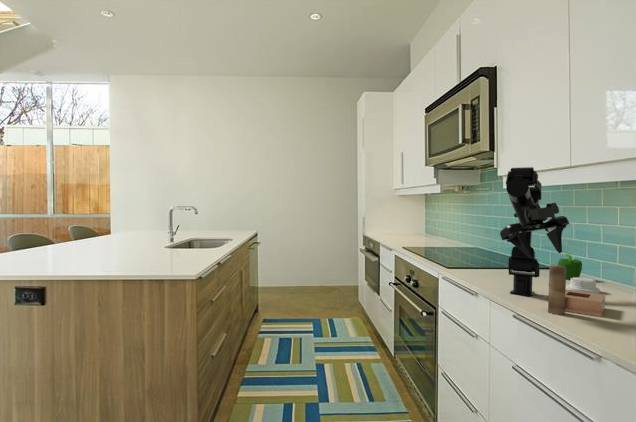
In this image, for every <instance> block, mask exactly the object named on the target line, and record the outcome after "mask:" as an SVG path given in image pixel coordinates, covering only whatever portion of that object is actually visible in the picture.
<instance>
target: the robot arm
mask: <svg viewBox="0 0 636 422" xmlns="http://www.w3.org/2000/svg"><path fill="white" fill-rule="evenodd" d="M509 170H510V171H509ZM509 170H508V171H507V176H506V181H505V185H506V186H505V187H506V192H507V194H508V199H509V200H510V203H511V205H512V207H513V209H514V212H515V213H514V214H513V217H514V218H517V219H518V222H516V223H510V224H506V226H505V227H504V228H502V229H501V230H500V231H499V232H500V233H499V236H500V238H501V241H506V242H507V243H511V244H512V245H513V247H512V249H511V252H510V253H511V255H510V256H509V257H508V275H509V276H510V275H511V276H513V285H512V287H513V289H512V290H510V291H509V294H514V295H520V296H527V297H528V296H529V297H532V296H533V295H535V294H536V291H534V290H533V278H540V269H541V268H540V263H539V261H538V258H536V253H535V250H534V248H533V247H532V239H533V232H535V231H536V232H537V231H542V230H544V231H545V232H547V233H546V237H547V238H548V239H549V241H550V243H551V244H552V245H553V247H554V249H555V250H556V252H557V253H558V254H561V253H563V243H562V242H563V241H562V239H563V237H562V236H563V231H564V229H566V228H567V226H569V225H570V221H569V219H568V218H567V216H564V215H561V216H556V214H559V213H560V210H559V209H560V208H559V206H558V204H557V202H551V203H546V205H545V207H541V205H540V201H542V196H543V191H542V190H543V189H542V187H543V186H542V182H541V181H539V174H538V172H537V170H535V168H534V167H533V166H530V167H529V166H528V167H525V166H524V167H511V168H510V169H509Z"/></svg>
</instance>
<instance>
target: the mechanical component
mask: <svg viewBox="0 0 636 422" xmlns="http://www.w3.org/2000/svg"><path fill="white" fill-rule="evenodd" d="M596 284H597V281H596V280H595V279H593V278H592V279H591V278H588V277H587V278H586V277H579V278H576V277H575V278H574V277H573V278H571V279H570V283H569V284H566V290H574V291H581V292H589V293H597V294H601V289H600V288H598V287H597V285H596Z"/></svg>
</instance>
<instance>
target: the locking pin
mask: <svg viewBox="0 0 636 422" xmlns="http://www.w3.org/2000/svg"><path fill="white" fill-rule="evenodd" d="M548 268H549V271H548V272H549V273H548V296H547V297H548V300H547V301H548V304H547V305H548V307H547V312H548V313H549V314H551V313H552V315H556V314H558V315H557V316H564V315H565V314H566V313H565V312H566V311H565V289H566V285H567V284H566V282H567V281H566V280H567V279H566V267H565V266H558V264H557V265H555V264H554V265H553V264H552V265H551V264H550V265H549V267H548ZM566 290H567V289H566ZM563 314H564V315H563Z"/></svg>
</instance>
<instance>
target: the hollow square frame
mask: <svg viewBox="0 0 636 422" xmlns="http://www.w3.org/2000/svg"><path fill="white" fill-rule="evenodd" d="M605 309H606V294H604V293H603V294H602V293H598V294H597V293H589V292H581V291H574V290H567V289H565V312H568V311H569V312H568V313H576V314H582V315H588V316H593V317H599V318H602V317H603V316H602V315H603V313H604V311H605Z"/></svg>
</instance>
